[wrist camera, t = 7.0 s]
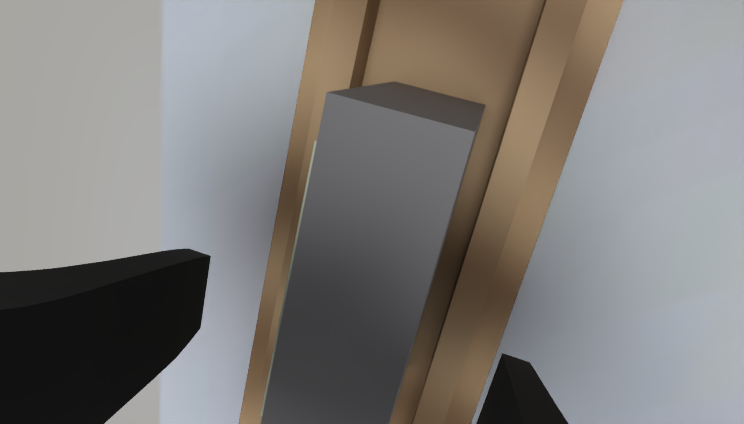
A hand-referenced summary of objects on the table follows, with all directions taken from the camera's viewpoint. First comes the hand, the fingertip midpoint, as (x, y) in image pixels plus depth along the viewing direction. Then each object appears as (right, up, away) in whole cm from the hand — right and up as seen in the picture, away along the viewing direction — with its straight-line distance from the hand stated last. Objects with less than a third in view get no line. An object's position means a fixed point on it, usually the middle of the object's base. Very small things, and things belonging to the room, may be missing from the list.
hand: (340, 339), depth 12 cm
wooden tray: (+2, +2, +7) cm, 8 cm away
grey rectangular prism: (+2, +2, +6) cm, 7 cm away
